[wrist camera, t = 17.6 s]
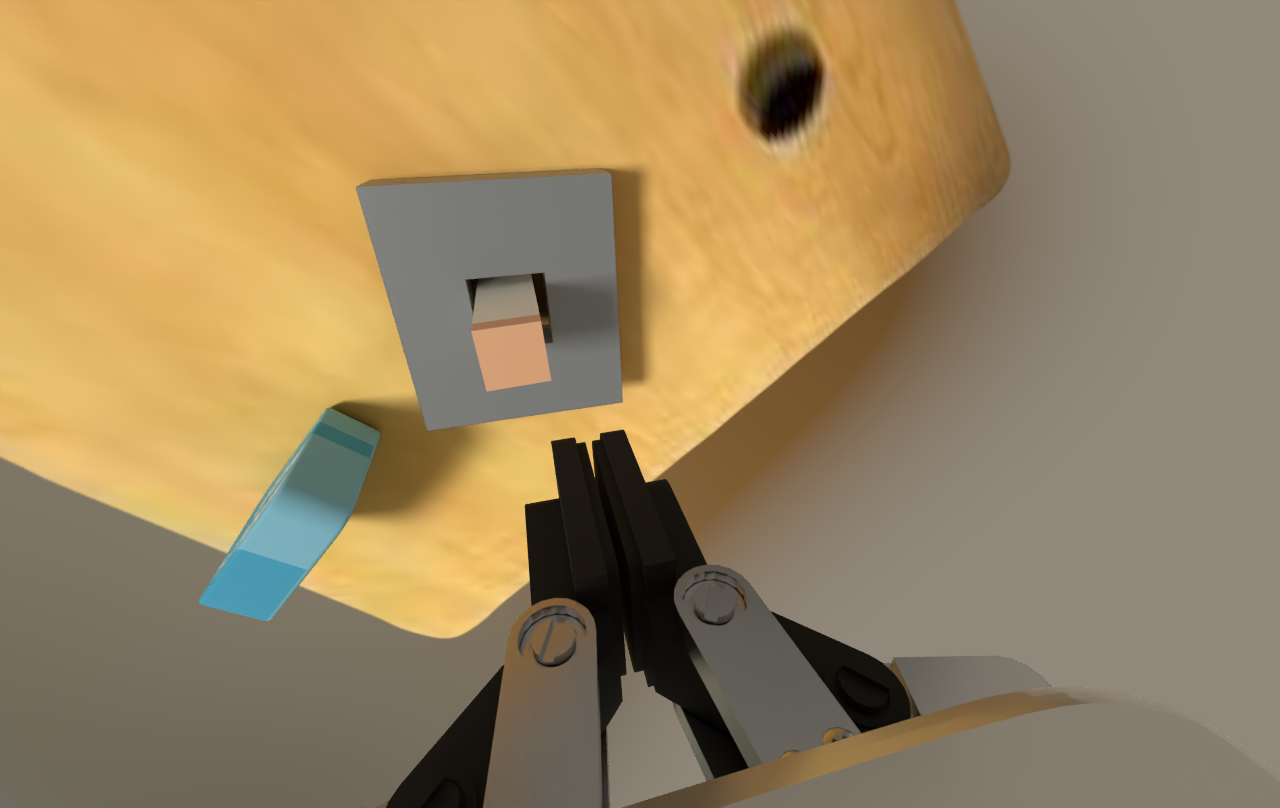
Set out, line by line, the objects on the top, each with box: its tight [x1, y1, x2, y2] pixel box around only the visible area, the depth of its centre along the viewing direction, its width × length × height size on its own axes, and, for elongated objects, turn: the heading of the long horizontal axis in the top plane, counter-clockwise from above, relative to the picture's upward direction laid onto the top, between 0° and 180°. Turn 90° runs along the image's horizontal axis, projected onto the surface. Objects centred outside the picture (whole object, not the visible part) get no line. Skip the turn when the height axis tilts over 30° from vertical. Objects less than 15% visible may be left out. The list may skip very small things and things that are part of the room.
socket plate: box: [356, 168, 623, 431], centre depth 38 cm, size 18×16×4 cm
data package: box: [199, 408, 381, 621], centre depth 38 cm, size 12×4×12 cm, turn 137°
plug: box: [471, 274, 551, 391], centre depth 35 cm, size 4×4×12 cm
